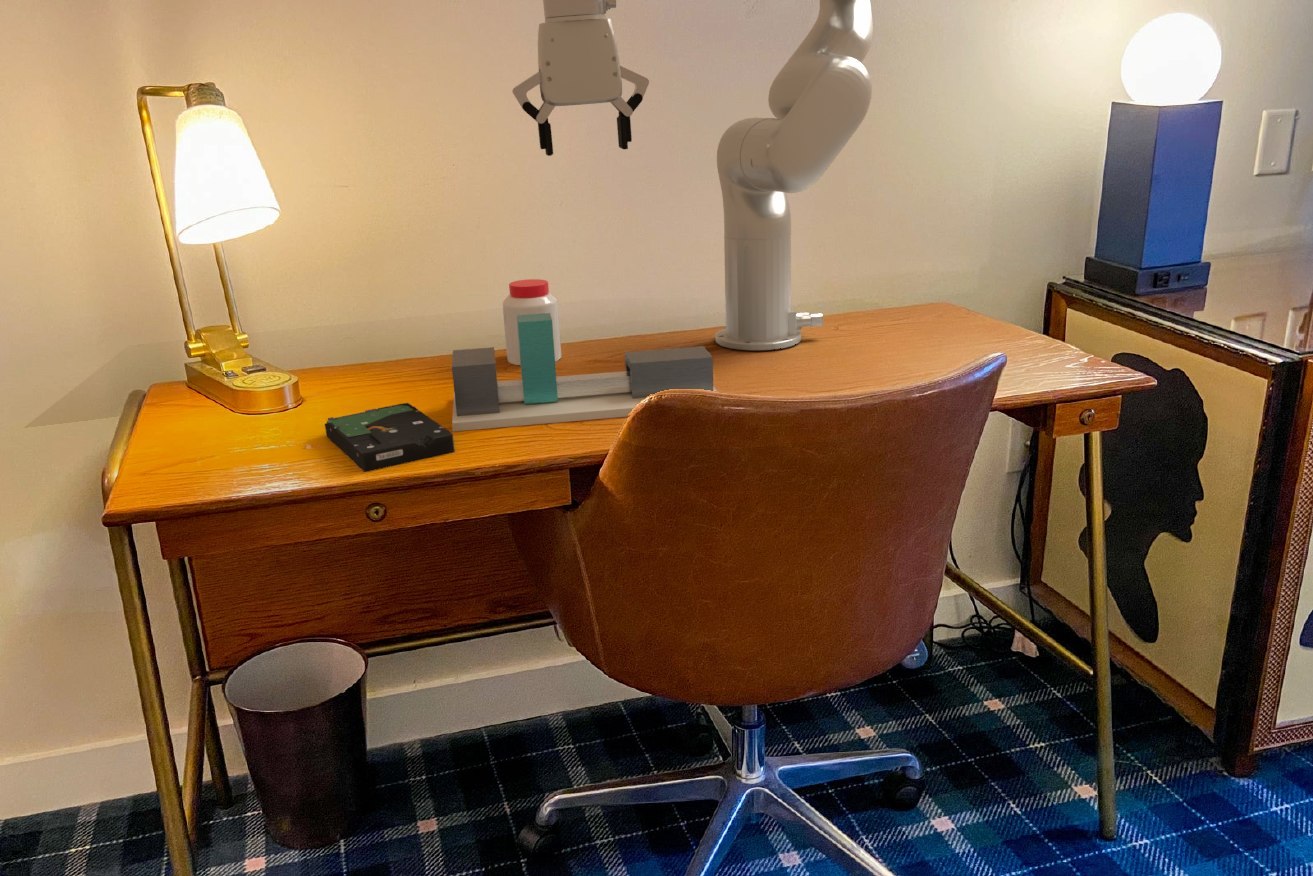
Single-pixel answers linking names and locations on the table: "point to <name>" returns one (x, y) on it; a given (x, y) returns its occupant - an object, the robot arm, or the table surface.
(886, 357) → the table surface
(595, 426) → the table surface
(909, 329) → the table surface
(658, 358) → the sleeve
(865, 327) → the table surface
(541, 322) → the bolt
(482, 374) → the socket
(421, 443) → the disk drive
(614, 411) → the base board
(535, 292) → the pill bottle
